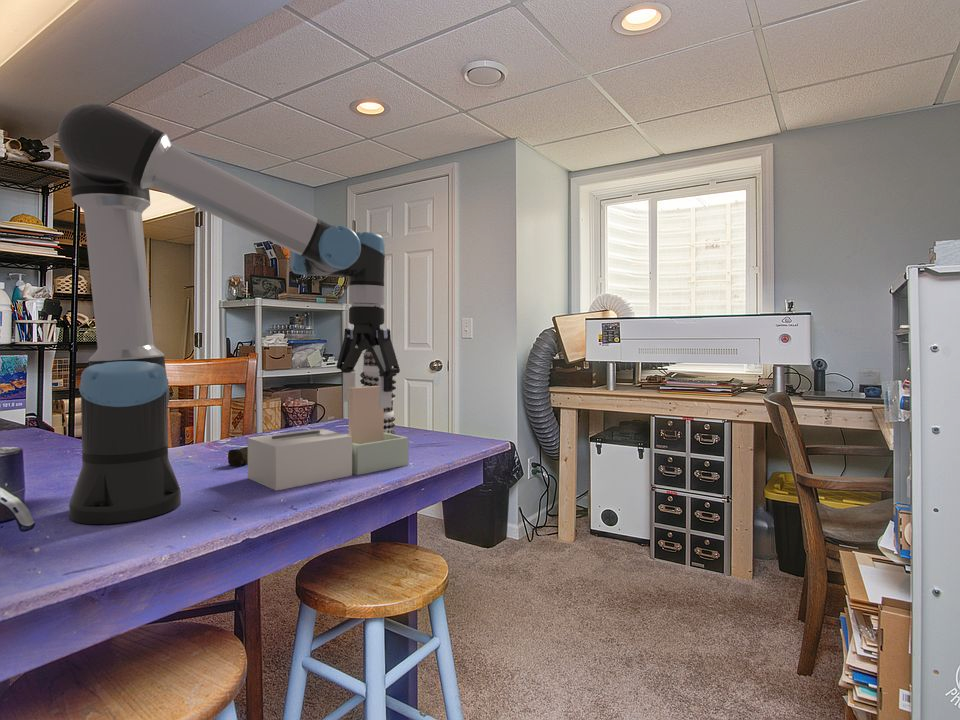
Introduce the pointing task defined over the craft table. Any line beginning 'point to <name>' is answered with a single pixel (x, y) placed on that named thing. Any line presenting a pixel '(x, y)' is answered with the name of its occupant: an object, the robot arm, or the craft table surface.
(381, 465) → the bin
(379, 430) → the ticket
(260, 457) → the dispenser
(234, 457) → the hand tool
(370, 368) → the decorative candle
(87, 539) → the craft table surface
